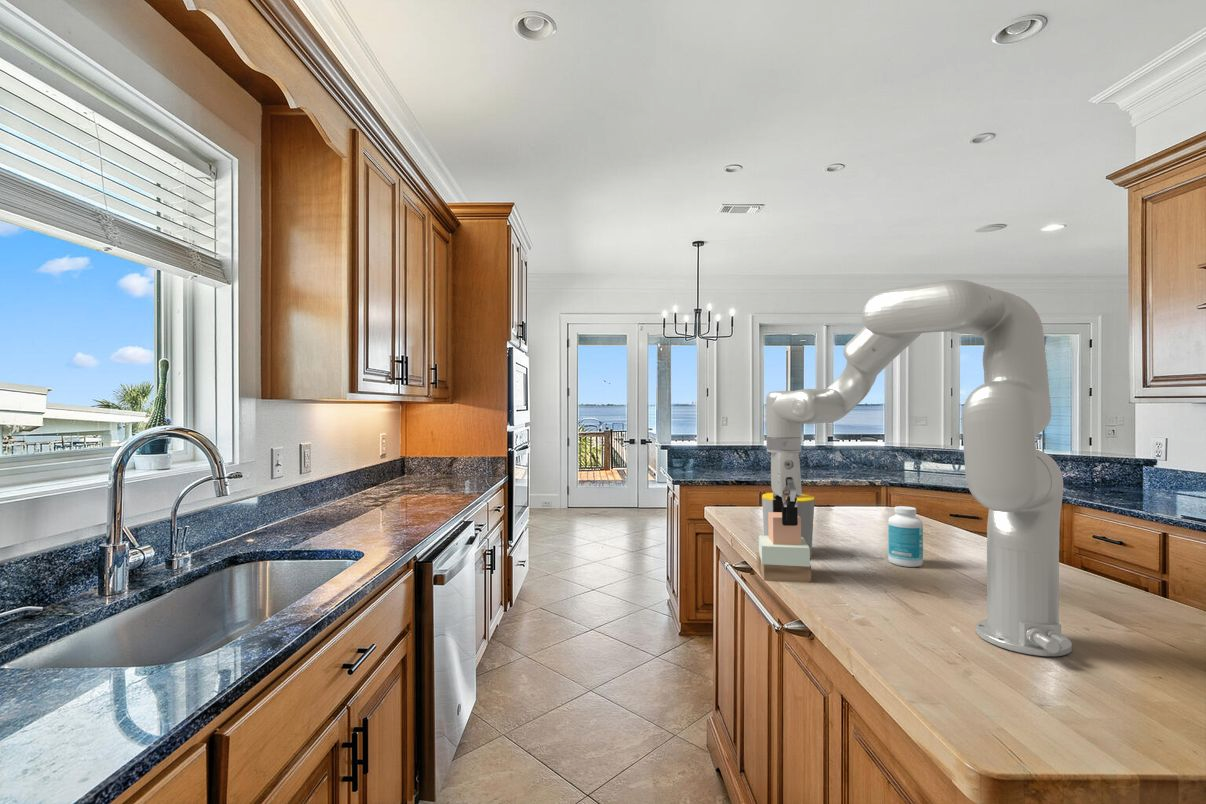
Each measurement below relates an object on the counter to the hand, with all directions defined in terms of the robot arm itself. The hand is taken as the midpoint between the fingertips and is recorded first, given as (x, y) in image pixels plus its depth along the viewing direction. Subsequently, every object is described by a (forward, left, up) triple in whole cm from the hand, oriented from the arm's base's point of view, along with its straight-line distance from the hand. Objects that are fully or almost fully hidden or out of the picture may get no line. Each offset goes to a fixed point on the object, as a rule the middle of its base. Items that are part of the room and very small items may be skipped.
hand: (784, 520), depth 128 cm
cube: (0, 0, -5) cm, 5 cm away
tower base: (0, 0, -13) cm, 13 cm away
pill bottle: (+11, -31, -12) cm, 35 cm away
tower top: (0, 0, -9) cm, 9 cm away
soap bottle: (+18, -5, -12) cm, 23 cm away
